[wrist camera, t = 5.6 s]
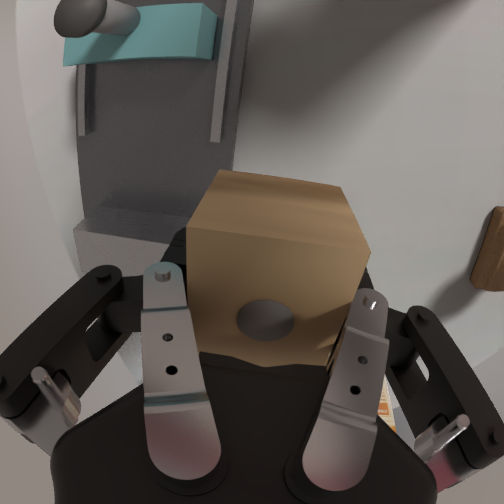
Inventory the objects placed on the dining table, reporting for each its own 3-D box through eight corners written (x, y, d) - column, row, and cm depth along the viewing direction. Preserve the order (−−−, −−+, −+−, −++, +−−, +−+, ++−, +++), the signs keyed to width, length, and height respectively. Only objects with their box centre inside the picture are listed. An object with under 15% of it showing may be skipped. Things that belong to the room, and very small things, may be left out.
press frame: (91, 3, 18) (51, -4, 13) (255, -8, 18) (247, -31, 13) (96, 243, 34) (69, 275, 28) (223, 264, 34) (212, 304, 28)
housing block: (219, 169, 12) (185, 228, 8) (340, 186, 12) (371, 253, 8) (213, 284, 15) (190, 365, 11) (310, 297, 15) (317, 380, 11)
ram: (100, 18, 18) (14, 10, 9) (218, 9, 18) (174, -31, 9) (95, 63, 21) (8, 75, 11) (211, 59, 21) (162, 51, 11)
